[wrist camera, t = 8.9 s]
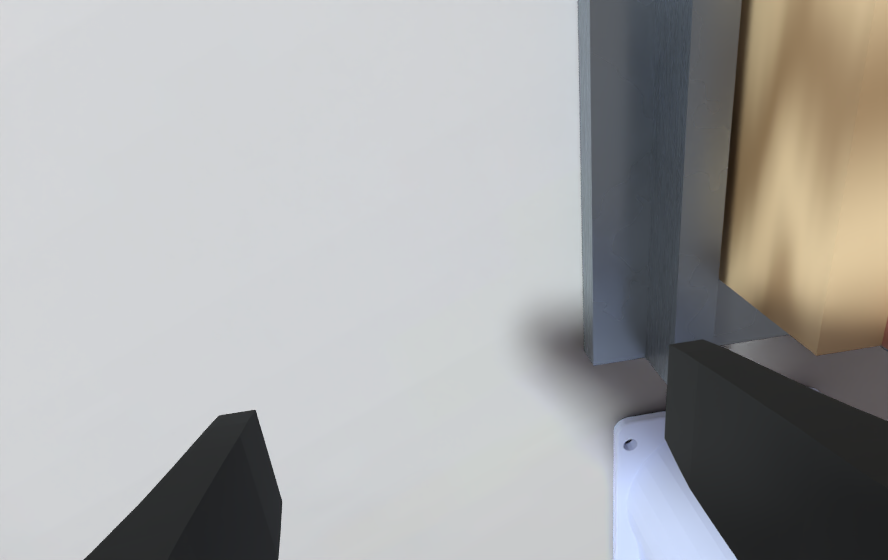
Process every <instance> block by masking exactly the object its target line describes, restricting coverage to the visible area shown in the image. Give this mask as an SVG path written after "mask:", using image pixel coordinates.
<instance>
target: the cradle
mask: <svg viewBox="0 0 888 560" xmlns="http://www.w3.org/2000/svg"><path fill="white" fill-rule="evenodd" d="M741 4H742V0H578V37H579V94H580V151H581V207H582V264H583V321H584V351H585V353H586V354H587V356H588V358H589V359H590V361H591V362H592V364H593V366H595V365H601V364H607V363H614V362H620V361H626V360H633V359H639V358H645V357H646V359H647V360H648V361H649V363H650V364H651V365H652V366H653V368H654V369H655V370H656V371H657V373H658V374H659V375H660V377H661V378H662V379H663V380H664V382H665V383H666V384H667V376H668V355H669V345H670V344H676V343H682V342H689V341H695V340H701V339H703V340H706V341H709V342H711V343H714V344H716V345H718V346H721V345H727V344H734V343H740V342H746V341H752V340H759V339H765V338H771V337H778V336H784V335H789V334H788V333H787V332H785V331H784V330H783V329H782V328H780V327H779V326H778V325H777V324H775V323H774V322H773V321H771V320H770V319H769V318H768V317H766V316H765V315H764V314H763V313H761V312H760V311H759V310H757V309H756V308H755V307H754V306H752V305H751V304H750V303H749V302H747V301H746V300H745V299H743V298H742V297H741V296H740V295H738V294H737V293H736V292H735V291H733V290H732V289H731V288H730V287H728V286H727V285H726V284H724V283H723V282H722V281H721V280H719V267H720V255H721V243H722V231H723V219H724V207H725V195H726V183H727V171H728V160H729V148H730V136H731V124H732V112H733V100H734V88H735V76H736V64H737V52H738V40H739V28H740V16H741ZM880 347H882V348H883V349H885V350H886V351H888V349H886V348H885V347H883V346H882V345H881V346H880Z"/></svg>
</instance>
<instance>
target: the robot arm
mask: <svg viewBox="0 0 888 560" xmlns="http://www.w3.org/2000/svg"><path fill="white" fill-rule="evenodd" d="M630 439H632V441H631V442H630V443H627V444H624V443H625V442H626V441H627V440H630ZM281 514H282V499H281V496H280V492H279V489H278V486H277V482H276V479H275V475H274V472H273V468H272V465H271V461H270V458H269V455H268V451H267V448H266V444H265V441H264V437H263V434H262V431H261V427H260V424H259V420H258V417H257V413H256V410H251V411H245V412H238V413H232V414H226V415H219V416H218V417H217V418H216V419H215V420H214V421H213V422H212V424H211V425H210V426H209V427H208V428H207V429H206V430H205V431H204V432H203V433H202V435H201V436H200V437H199V438H198V439H197V440H196V441H195V443H194V444H193V445H192V446H191V447H190V448H189V449H188V451H187V452H186V453H185V454H184V455H183V456H182V457H181V458H180V460H179V461H178V462H177V463H176V464H175V465H174V466H173V467H172V469H171V470H170V471H169V472H168V473H167V474H166V475H165V476H164V477H163V478H162V480H161V481H160V482H159V483H158V484H157V485H156V486H155V487H154V488H153V490H152V491H151V492H150V493H149V494H148V495H147V496H146V497H145V498H144V499H143V500H142V502H141V503H140V504H139V505H138V506H137V507H136V508H135V509H134V510H133V511H132V512H131V513H130V514H129V515H128V516H127V517H126V518H125V519H124V520H123V521H122V522H121V523H120V524H119V525H118V526H117V527H116V528H115V529H114V530H113V531H112V532H111V533H110V534H109V535H108V536H107V537H106V538H105V539H104V540H103V541H102V542H101V543H100V544H99V545H98V546H97V547H96V548H95V549H94V550H93V551H92V552H91V553H90V554H89V555H88V556H87V557H86V558H85V559H84V560H278V556H279V543H280V531H281ZM613 560H888V421H885V420H883V419H881V418H878V417H876V416H873V415H871V414H868V413H866V412H863V411H861V410H859V409H856V408H854V407H851V406H849V405H847V404H844V403H842V402H840V401H838V400H835V399H833V398H831V397H828V396H826V395H824V394H822V393H821V392H820V391H818V390H817V389H815V388H809V387H806V386H804V385H802V384H800V383H798V382H796V381H793V380H791V379H789V378H787V377H785V376H783V375H781V374H779V373H776V372H774V371H772V370H770V369H768V368H766V367H764V366H762V365H760V364H758V363H755V362H753V361H751V360H749V359H747V358H745V357H743V356H741V355H738V354H736V353H734V352H732V351H730V350H728V349H725V348H723V347H721V346H718V345H716V344H714V343H711V342H709V341H706V340H703V339H701V340H695V341H689V342H682V343H676V344H670V345H669V355H668V376H667V396H666V411H663V412H657V413H651V414H645V415H639V416H633V417H627V418H624V419H621V420H620V421H619V422H618V423H617V424H616V425H615V428H614V490H613Z"/></svg>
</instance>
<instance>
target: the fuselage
mask: <svg viewBox="0 0 888 560" xmlns="http://www.w3.org/2000/svg"><path fill="white" fill-rule="evenodd" d="M719 280H721V281H722V282H723V283H724V284H726V285H727V286H728V287H730V288H731V289H732V290H733V291H735V292H736V293H737V294H738V295H740V296H741V297H742V298H743V299H745V300H746V301H747V302H749V303H750V304H751V305H752V306H754V307H755V308H756V309H757V310H759V311H760V312H761V313H763V314H764V315H765V316H766V317H768V318H769V319H770V320H771V321H773V322H774V323H775V324H777V325H778V326H779V327H780V328H782V329H783V330H784V331H785V332H787V333H788V334H789V335H791V336H792V337H793V338H794V339H796V340H797V341H798V342H799V343H801V344H802V345H803V346H805V347H806V348H807V349H808V350H810V351H811V352H812V353H813V354H815V355H816V356H818V355H825V354H831V353H837V352H843V351H850V350H856V349H862V348H868V347H875V346H881V345H882V346H883V347H885V348H886V349H888V0H742V4H741V16H740V28H739V40H738V52H737V64H736V76H735V88H734V100H733V112H732V124H731V136H730V148H729V160H728V171H727V183H726V195H725V207H724V219H723V231H722V243H721V255H720V267H719Z"/></svg>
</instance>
